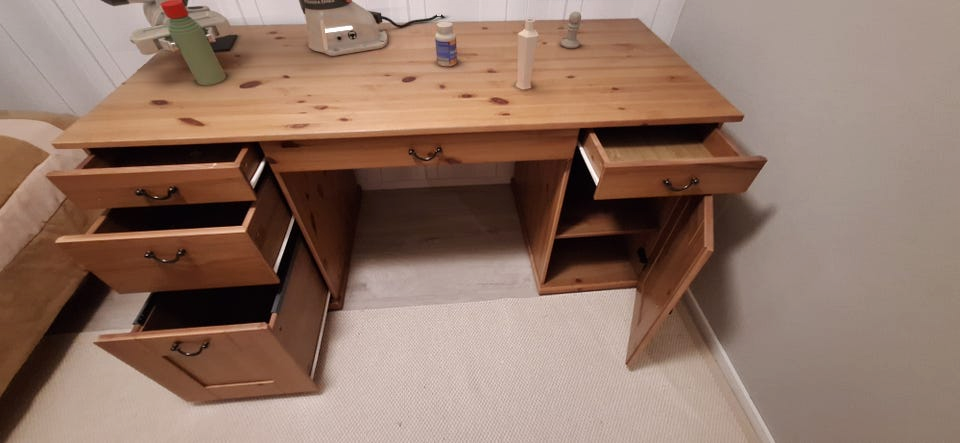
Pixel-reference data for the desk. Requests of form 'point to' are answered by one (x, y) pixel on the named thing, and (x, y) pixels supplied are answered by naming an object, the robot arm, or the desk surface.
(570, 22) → the chess piece
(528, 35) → the perfume bottle
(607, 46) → the desk surface
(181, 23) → the bottle
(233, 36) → the coaster
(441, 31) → the pill bottle
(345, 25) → the robot arm
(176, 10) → the cap
